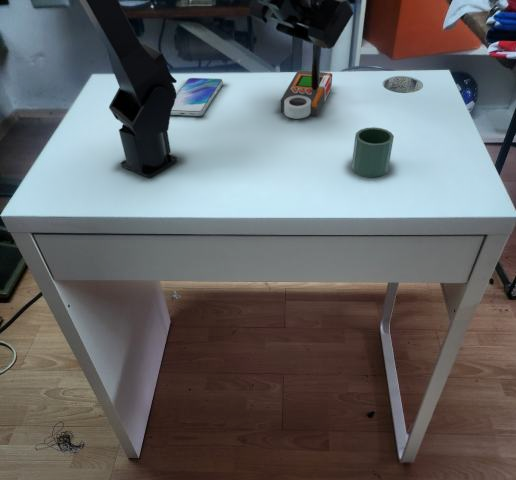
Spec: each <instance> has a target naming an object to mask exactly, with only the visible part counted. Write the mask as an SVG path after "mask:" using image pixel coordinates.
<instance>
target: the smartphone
mask: <svg viewBox="0 0 516 480" xmlns="http://www.w3.org/2000/svg"><path fill="white" fill-rule="evenodd" d="M223 84H224V81H223V79H222V78H205V77H204V78H203V77H190V78H187V79H186V81H185V82H184V84H183V85H182V86H181V87H180V89H179V90H178V91H177V92H176V95H177V98H176V99H175V103H174V106H173V108H172V110H171V114H170V116H172V115H173V116H192V117H193V116H194V117H195V116H196V117H199V116H200V117H201V116H202V115H204V113H205V112H206V110H207V109H208V107H209V105H210V104H211V103H212V101H213V99H214V98H215V96H216V94H217V93H218V91H219V90H220V89H221V87H222V85H223Z"/></svg>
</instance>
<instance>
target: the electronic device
mask: <svg viewBox="0 0 516 480" xmlns="http://www.w3.org/2000/svg"><path fill="white" fill-rule="evenodd" d="M311 78H312V70H302V69H297V71H296V73H295V75H294V76H293V78H292V80H291V81H290V83H289V84H288V86H287V88H286V90H285V91H284V93H283V95H282V97H281V99H280V113H283V114H284V115H285V116H286V117H288V118H289V119H295V120H296V119H299V120H300V119H304V118H307V117H318V114H319V112H320V111H321V109H322V106H323V105H324V103H325V102H326V100H327V97H328V96H329V93H330V91H331V87H332V84H333V73H331V72H325V71H320V79H319V88H318V89H317V90H313V89H312V88H311Z"/></svg>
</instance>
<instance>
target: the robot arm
mask: <svg viewBox="0 0 516 480" xmlns="http://www.w3.org/2000/svg"><path fill="white" fill-rule="evenodd" d="M78 1H79V3H80V4H81V6H82V8H83V9H84V12H85V13H86V14H87V17H88V18H89V20H90V22H91V23H92V25H93V26H94V29H95V30H96V32H97V34H98V36H99V37H100V39H101V41H102V42H103V44H104V46H105V48H106V50H107V51H108V53H109V56H110V61H111V66H112V72H113V74H114V77H115V80H116V82H117V84H118V87H119V88H118V89H117V91H116V93H115V94H114V96H113V98H112V99H111V102H110V104H109V106H108V109H109V110H110V112H111V113H112V115H113V117H114V118H115V120H117V121H119V122H120V123H121V124H122V125H121V128H119V129H118V132H119V133H118V134H119V137H120V141H121V144H122V149H123V153H124V157H125V159H124V160H122V161H121V162H120V166H121V167H122V168H124V169H126V170H129V171H131V172H133V173H136V174H138V175H141V176H143V177H146V178H151V177H154V176H155V175H157V174H159V173H160V172H161V171H163V170H165V169H166V168H168V167H170V166H172V165H174V164H175V163H176V162H178V157H177V156H176V155H173V154H171V145H170V140H169V134H168V131H169V126H170V121H171V115H170V114H171V110H172V108H173V106H174V103H175V99H176V98H177V95H176V94H177V90H176V87H175V85H174V84H176V83H177V82H178V81H177V79H176V78H175V77H174V76H173V75H172V73H171V72H170V70H169V66H168V63H167V61H166V58H165V57H164V54H163V53H162V52H160V51H159V50H157V49H155V48H154V47H152V46H150V45H149V44H147V43H146V42H142V43H141V41H140V40H139V37H138V36H137V33H136V31H135V30H134V28H133V26H132V24H131V22H130V20H129V19H128V16H127V14H126V13H125V11H124V8H123V7H122V5H121V3H120V0H78ZM269 10H270V11H271V12H272V13H271V15H270V19H271V21H273V22H276V23H277V24H276V26H275V30H276V31H277V32H280V33H283V34H285V35H287V36H290V37H292V38H295V39H298V40H301V41H303V42H306V43H308V44H310V45H313V44H314V45H316V46H319V47H321V49H324V50H325V49H328V50H330V49H331V48H334V47H335V46H336V44H337V42H338V41H339V39H340V37H341V35H342V34H343V32H344V30H345V29H346V27H347V25H348V23H349V22H350V21H351V18H352V17H353V16H354V7H353V6H352V5H351V2H350V1H349V0H251V1H250V2H249V5H248V12H249V13H248V15H249V16H250V17H251V18H252V19H253V21H254V22H256V23H258V24H261V25H264V26H266V25H267V24H268V18H267V17H266V15H267V13H268V11H269Z"/></svg>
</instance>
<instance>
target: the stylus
mask: <svg viewBox="0 0 516 480" xmlns="http://www.w3.org/2000/svg"><path fill="white" fill-rule="evenodd" d="M311 57H312V59H311V71H312V78H311V88H312V89H313V90H317V89H318V88H319V79H320V72H321V59H322V58H321V57H322V47H319V46H316V45H314V44H312V56H311Z"/></svg>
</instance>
